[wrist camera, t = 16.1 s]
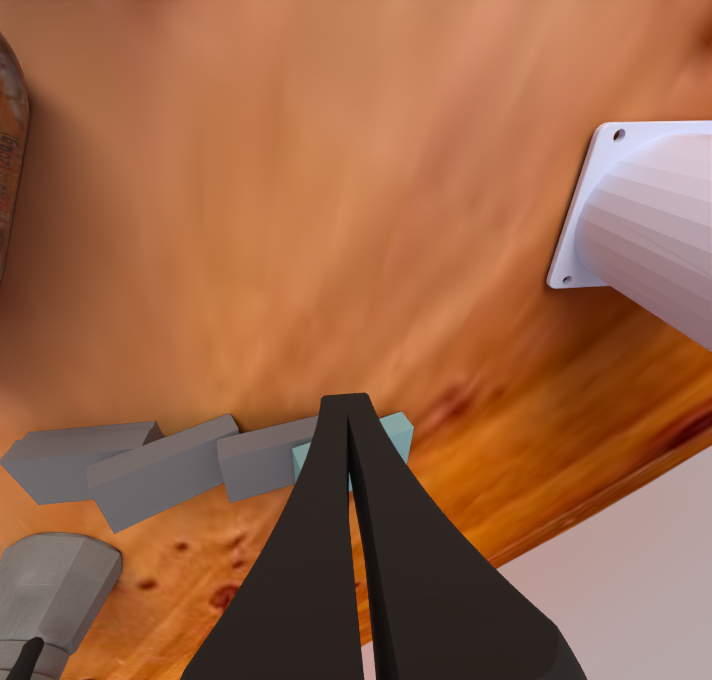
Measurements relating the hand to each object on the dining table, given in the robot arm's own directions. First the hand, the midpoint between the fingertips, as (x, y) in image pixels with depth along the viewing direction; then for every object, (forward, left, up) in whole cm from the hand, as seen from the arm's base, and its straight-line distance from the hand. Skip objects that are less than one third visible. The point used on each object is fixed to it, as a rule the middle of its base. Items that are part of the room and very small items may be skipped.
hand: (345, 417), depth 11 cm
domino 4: (+12, +12, -8) cm, 19 cm away
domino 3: (+7, +12, -9) cm, 16 cm away
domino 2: (0, +12, -9) cm, 15 cm away
